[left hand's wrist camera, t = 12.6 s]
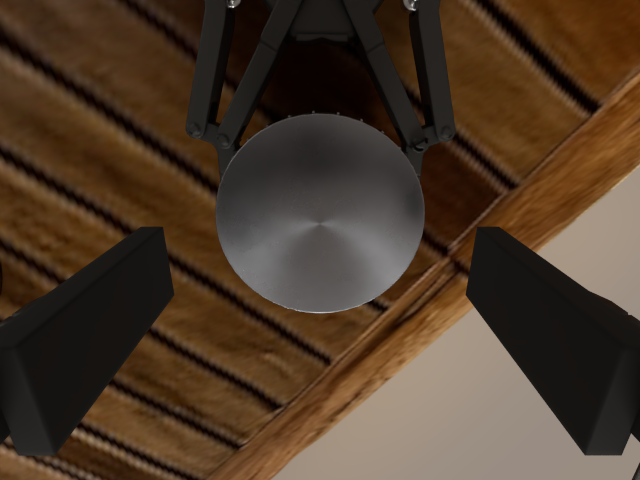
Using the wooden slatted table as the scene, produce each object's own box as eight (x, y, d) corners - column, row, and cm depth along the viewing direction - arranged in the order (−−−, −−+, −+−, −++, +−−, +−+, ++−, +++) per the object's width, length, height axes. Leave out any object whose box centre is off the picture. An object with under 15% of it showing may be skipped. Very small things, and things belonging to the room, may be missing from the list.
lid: (356, 66, 16) (361, 62, 14) (446, 240, 19) (460, 256, 18) (185, 179, 18) (169, 188, 16) (292, 321, 21) (289, 344, 19)
